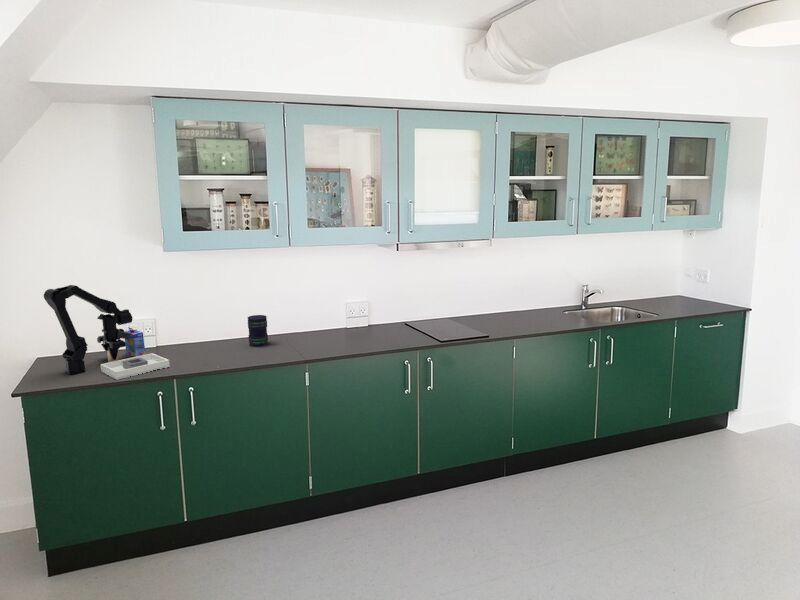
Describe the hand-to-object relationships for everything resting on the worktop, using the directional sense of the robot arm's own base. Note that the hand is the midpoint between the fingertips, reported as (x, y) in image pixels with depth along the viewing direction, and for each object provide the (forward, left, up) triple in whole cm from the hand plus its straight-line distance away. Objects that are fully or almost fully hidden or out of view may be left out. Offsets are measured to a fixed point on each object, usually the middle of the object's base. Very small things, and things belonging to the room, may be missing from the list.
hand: (113, 358), depth 288 cm
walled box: (+2, -20, -2) cm, 20 cm away
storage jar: (+64, -26, -2) cm, 69 cm away
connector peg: (0, 0, -2) cm, 2 cm away
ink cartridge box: (+12, +3, -2) cm, 12 cm away
